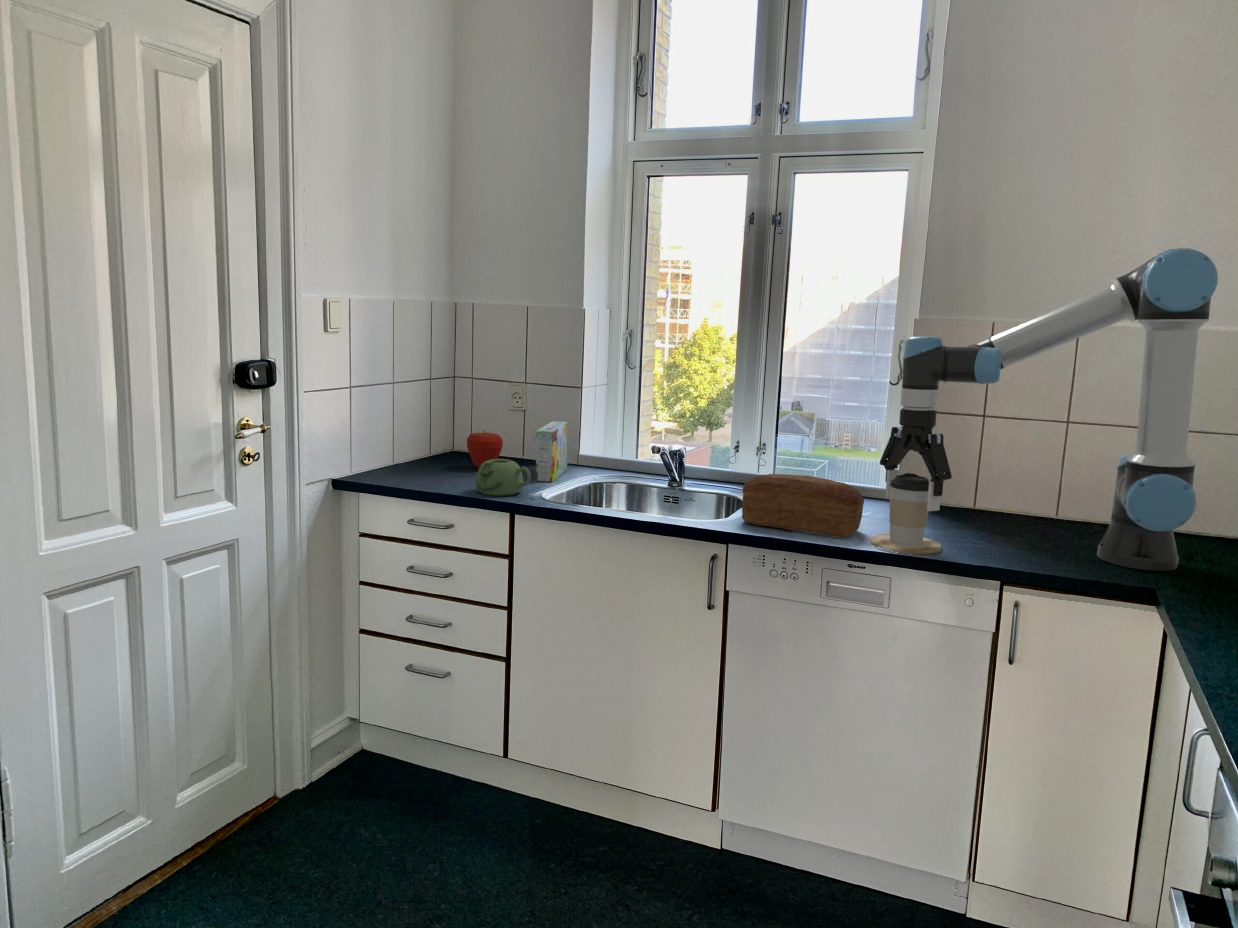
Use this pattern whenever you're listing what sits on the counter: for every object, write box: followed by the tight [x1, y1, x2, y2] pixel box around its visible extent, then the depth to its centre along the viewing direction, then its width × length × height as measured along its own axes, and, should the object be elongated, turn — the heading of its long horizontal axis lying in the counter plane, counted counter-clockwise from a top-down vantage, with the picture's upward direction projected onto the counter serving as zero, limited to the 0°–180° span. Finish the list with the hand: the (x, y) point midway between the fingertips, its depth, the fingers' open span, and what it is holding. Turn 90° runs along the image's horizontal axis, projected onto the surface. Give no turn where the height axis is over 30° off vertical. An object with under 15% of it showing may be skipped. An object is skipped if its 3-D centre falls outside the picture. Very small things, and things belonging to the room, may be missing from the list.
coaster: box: [870, 533, 942, 556], centre depth 196 cm, size 15×15×1 cm
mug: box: [475, 458, 532, 497], centre depth 236 cm, size 16×13×9 cm
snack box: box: [535, 421, 568, 483], centre depth 262 cm, size 21×6×15 cm, turn 172°
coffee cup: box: [888, 472, 930, 546], centre depth 195 cm, size 9×9×15 cm
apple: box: [466, 430, 504, 470], centre depth 269 cm, size 11×11×12 cm
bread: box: [741, 473, 865, 538], centre depth 209 cm, size 14×28×12 cm, turn 62°
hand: (911, 504), depth 195 cm, fingers open, 13 cm apart
